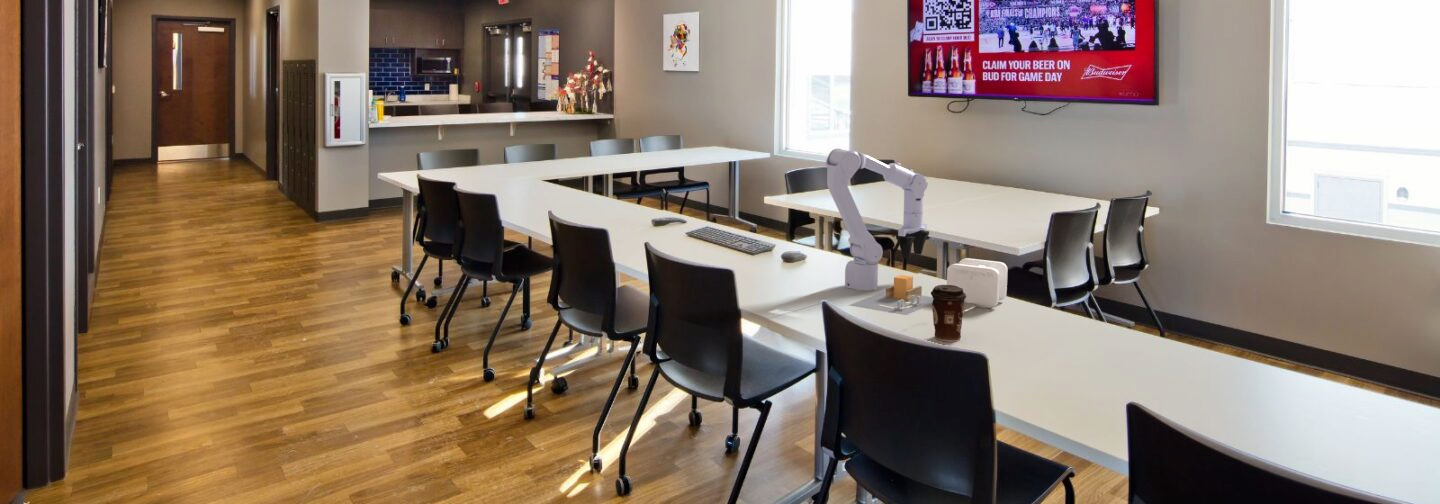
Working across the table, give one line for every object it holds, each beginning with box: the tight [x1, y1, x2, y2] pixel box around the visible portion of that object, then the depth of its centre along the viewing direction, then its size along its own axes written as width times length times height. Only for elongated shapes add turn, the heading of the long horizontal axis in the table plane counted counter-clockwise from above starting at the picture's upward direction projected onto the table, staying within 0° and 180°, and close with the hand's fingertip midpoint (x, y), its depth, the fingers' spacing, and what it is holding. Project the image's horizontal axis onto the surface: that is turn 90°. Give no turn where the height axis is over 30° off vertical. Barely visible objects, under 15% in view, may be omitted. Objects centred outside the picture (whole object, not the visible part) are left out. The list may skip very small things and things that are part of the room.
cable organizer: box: [946, 257, 1009, 309], centre depth 264 cm, size 15×11×12 cm
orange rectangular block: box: [893, 274, 914, 299], centre depth 268 cm, size 4×4×6 cm
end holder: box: [885, 284, 923, 302], centre depth 268 cm, size 7×8×3 cm
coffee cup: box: [930, 284, 966, 343], centre depth 229 cm, size 9×8×13 cm
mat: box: [849, 290, 933, 316], centre depth 263 cm, size 18×22×4 cm
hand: (912, 256), depth 285 cm, fingers open, 7 cm apart
